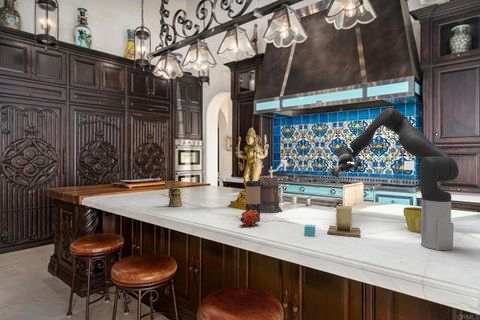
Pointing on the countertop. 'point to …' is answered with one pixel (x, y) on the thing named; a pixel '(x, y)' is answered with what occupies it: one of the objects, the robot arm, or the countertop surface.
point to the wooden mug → (173, 195)
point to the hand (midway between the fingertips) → (346, 172)
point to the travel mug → (253, 196)
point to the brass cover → (344, 217)
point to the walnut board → (344, 232)
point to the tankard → (269, 195)
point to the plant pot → (413, 218)
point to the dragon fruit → (250, 217)
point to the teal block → (309, 230)
